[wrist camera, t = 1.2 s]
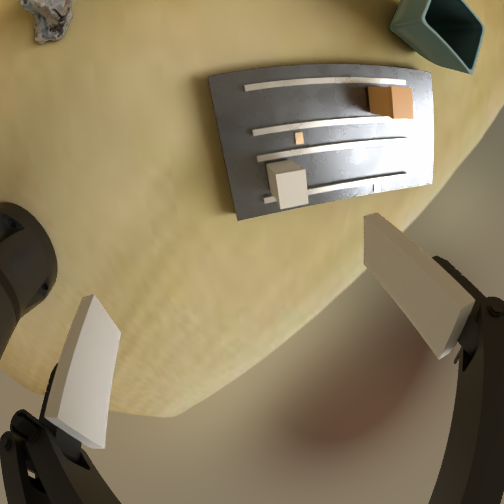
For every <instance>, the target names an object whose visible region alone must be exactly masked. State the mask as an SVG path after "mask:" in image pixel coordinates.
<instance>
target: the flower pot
mask: <svg viewBox="0 0 504 504" xmlns="http://www.w3.org/2000/svg"><path fill="white" fill-rule="evenodd" d="M389 29H390V30H391V31H392V32H393V33H394V34H396V35H397V36H398V37H399V38H401V39H402V40H403V41H404V42H405V43H407V44H408V45H409V46H410V47H411V48H412V49H413V50H414V51H416V52H417V53H418V54H420V55H421V56H423V57H424V58H426V59H427V60H429V61H431V62H432V63H434V64H437V65H439V66H442V67H445V68H449V69H453V70H457V71H461V72H464V73H468V74H473V72H474V69H475V66H476V62H477V58H478V55H479V51H480V47H481V43H482V39H483V35H484V25H483V24H482V22H481V21H480V20H479V18H478V17H477V16H476V15H475V13H474V12H473V11H472V10H471V9H470V8H469V6H468V5H467V4H466V3H465V2H464V1H463V0H401V1H400V3H399V5H398V7H397V10H396V12H395V14H394V17H393V19H392V21H391V23H390V26H389Z"/></svg>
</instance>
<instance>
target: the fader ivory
mask: <svg viewBox="0 0 504 504" xmlns="http://www.w3.org/2000/svg"><path fill="white" fill-rule="evenodd" d="M266 167H267V173H268V180H269V186H270V192H271V194H272V195H273V197H274V198H275V199H276V201H277V202H278V205H279V208H280V209H285V208H290V207H295V206H300V205H305V204H309V202H308V191H307V180H306V171H305V169H304V168H300V167H299V166H298V165H296V164H295V163H294V162H292V161H291V160H285V161H279V162H273V163H268V164H266Z"/></svg>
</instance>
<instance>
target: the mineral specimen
mask: <svg viewBox="0 0 504 504" xmlns="http://www.w3.org/2000/svg"><path fill="white" fill-rule="evenodd" d="M72 1H73V0H19V3H21V4H22V5H23V6H24V9H25V10H26V11H29V12H30V13H31V14H32V15H34V17H35V23H34V26H33V28H34V30H35V33H36V34H35V41H37V43H39V44H44V43H45V42H47V41H48V40H52V41H59V40H60V39H62V38H63V37H64V36H65V33H66V30H67V28H68V26H69V23H70V20H71V19H72V18H73V14H72V11H71V10H70V9H71V4H72Z"/></svg>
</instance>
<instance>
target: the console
mask: <svg viewBox="0 0 504 504" xmlns="http://www.w3.org/2000/svg"><path fill="white" fill-rule="evenodd" d="M208 82H209V87H210V92H211V97H212V102H213V107H214V111H215V116H216V121H217V126H218V131H219V136H220V141H221V146H222V151H223V155H224V160H225V165H226V170H227V175H228V180H229V184H230V189H231V194H232V199H233V203H234V208H235V213H236V217H237V220H238V221H239V220H244V219H248V218H253V217H257V216H262V215H267V214H271V213H276V212H281V211H285V210H290V209H295V208H300V207H305V206H310V205H315V204H320V203H325V202H330V201H335V200H341V199H346V198H351V197H357V196H362V195H368V194H373V193H379V192H385V191H391V190H396V189H402V188H408V187H415V186H421V185H427V184H432V176H433V158H434V112H433V94H432V82H431V72H427V71H420V70H414V69H406V68H398V67H389V66H377V65H361V64H306V65H289V66H277V67H267V68H258V69H251V70H244V71H237V72H231V73H225V74H220V75H215V76H210V77H208ZM388 86H394V87H408V88H412V98H413V114H414V119H391V118H390V117H387V116H382V115H377V114H371V113H370V104H369V94H368V87H388ZM285 160H291V161H292V162H294V163H295V164H296V165H298V166H299V167H300V168H304V169H305V171H306V180H307V191H308V202H309V204H305V205H300V206H295V207H290V208H285V209H280V208H279V205H278V202H277V201H276V199H275V198H274V197H273V195H272V194H271V192H270V186H269V180H268V173H267V167H266V164H268V163H273V162H279V161H285Z"/></svg>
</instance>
